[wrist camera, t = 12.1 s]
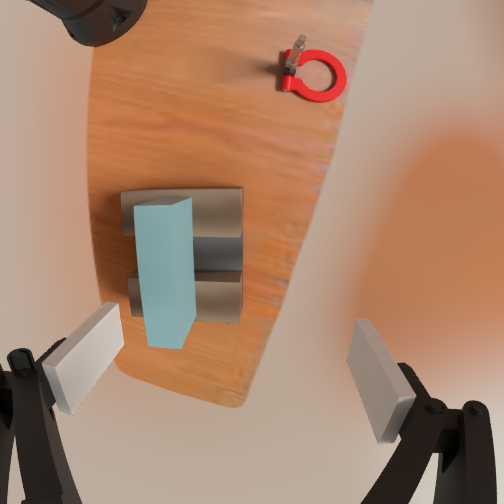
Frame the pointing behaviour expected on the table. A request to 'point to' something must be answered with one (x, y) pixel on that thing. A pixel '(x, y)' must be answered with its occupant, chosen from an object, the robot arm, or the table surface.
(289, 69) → the tow hook
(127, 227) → the grey grooved block
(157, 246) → the teal beam
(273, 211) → the table surface
